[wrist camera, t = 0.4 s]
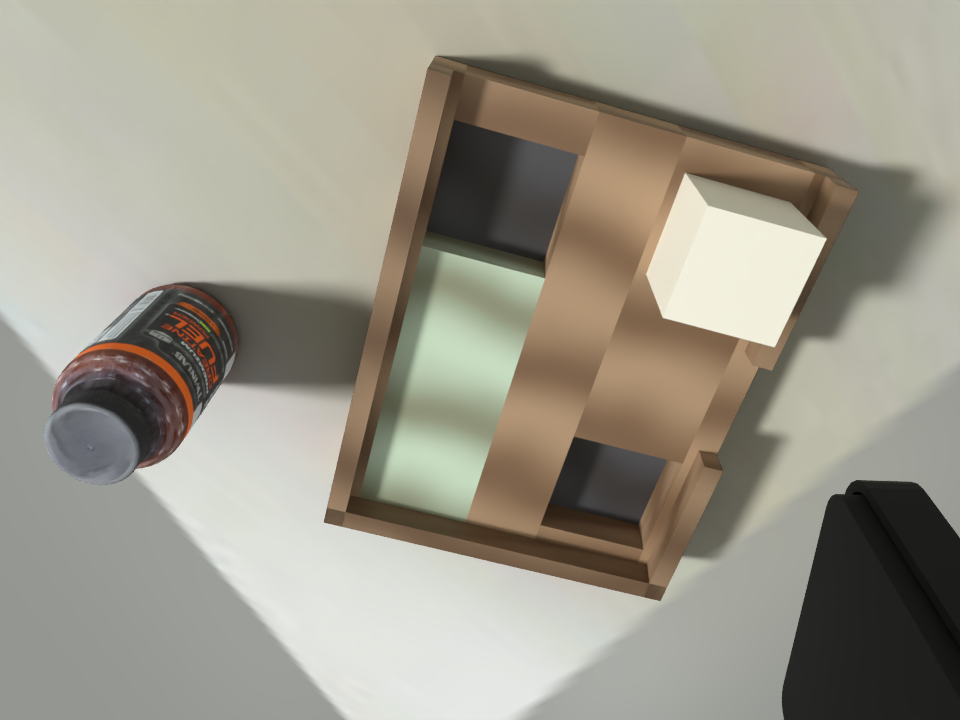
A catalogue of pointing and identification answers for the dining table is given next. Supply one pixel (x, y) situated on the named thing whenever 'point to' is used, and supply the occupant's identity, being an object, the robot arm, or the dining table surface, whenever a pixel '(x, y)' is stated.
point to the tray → (549, 336)
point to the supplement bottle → (140, 385)
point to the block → (732, 260)
